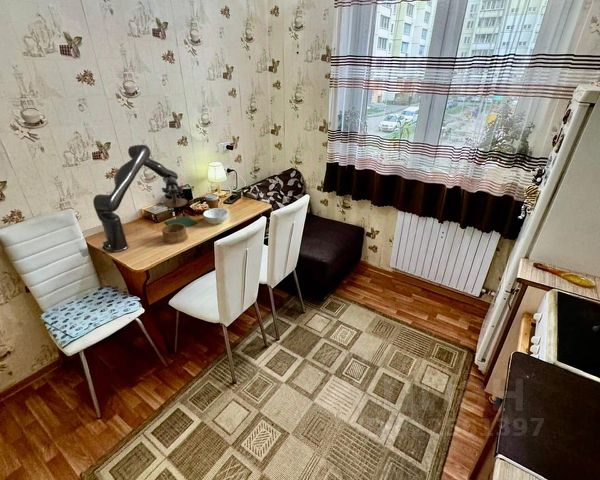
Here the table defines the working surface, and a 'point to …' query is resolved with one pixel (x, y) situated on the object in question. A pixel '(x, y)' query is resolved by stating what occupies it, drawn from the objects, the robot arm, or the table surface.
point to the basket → (174, 233)
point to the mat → (182, 221)
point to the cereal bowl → (215, 215)
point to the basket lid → (175, 200)
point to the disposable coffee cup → (212, 200)
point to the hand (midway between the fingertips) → (173, 193)
